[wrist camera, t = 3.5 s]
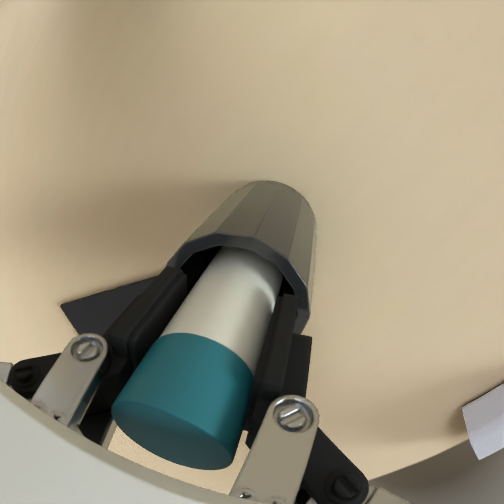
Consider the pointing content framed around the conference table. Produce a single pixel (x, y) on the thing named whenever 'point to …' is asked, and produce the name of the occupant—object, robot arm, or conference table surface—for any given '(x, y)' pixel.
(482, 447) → the charger
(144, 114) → the conference table surface
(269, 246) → the pen cup
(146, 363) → the marker
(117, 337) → the robot arm
